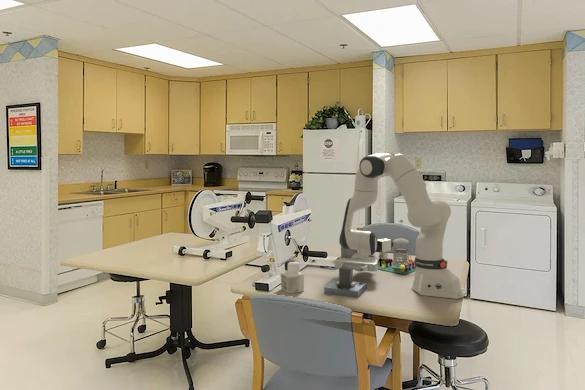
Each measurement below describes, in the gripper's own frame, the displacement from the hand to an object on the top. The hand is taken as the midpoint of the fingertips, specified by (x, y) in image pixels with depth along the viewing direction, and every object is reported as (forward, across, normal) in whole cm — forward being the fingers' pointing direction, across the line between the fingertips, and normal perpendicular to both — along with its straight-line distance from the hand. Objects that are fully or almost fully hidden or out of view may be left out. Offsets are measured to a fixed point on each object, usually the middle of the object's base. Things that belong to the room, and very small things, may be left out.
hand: (351, 268), depth 209 cm
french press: (-41, +15, +8) cm, 44 cm away
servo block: (+9, 0, +8) cm, 12 cm away
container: (+17, -22, +8) cm, 29 cm away
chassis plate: (+9, 0, +8) cm, 12 cm away
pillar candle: (-53, -17, +8) cm, 56 cm away
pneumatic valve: (-56, +2, +8) cm, 56 cm away
